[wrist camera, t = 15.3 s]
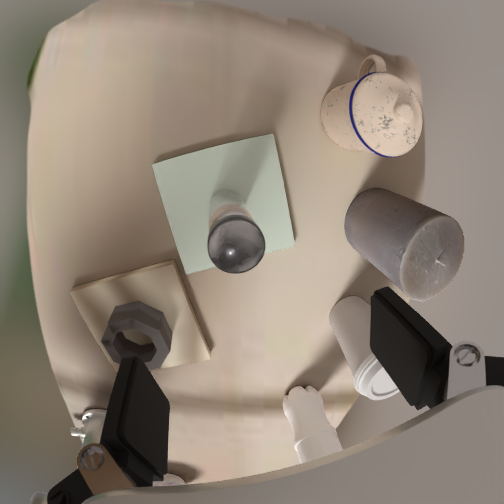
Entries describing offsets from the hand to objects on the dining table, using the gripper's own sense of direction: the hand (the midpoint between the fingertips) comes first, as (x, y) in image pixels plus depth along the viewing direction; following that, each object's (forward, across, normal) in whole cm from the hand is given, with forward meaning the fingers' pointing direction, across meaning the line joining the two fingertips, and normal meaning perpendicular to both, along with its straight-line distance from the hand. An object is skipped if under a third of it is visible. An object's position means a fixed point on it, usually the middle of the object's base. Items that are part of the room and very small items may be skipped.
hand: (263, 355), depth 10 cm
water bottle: (+26, -4, +37) cm, 45 cm away
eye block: (+26, +16, +13) cm, 32 cm away
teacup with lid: (+25, -18, -9) cm, 33 cm away
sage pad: (+25, 0, 0) cm, 25 cm away
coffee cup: (+26, -14, +21) cm, 36 cm away
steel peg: (+24, 0, 0) cm, 24 cm away
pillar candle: (+25, -19, +7) cm, 33 cm away
